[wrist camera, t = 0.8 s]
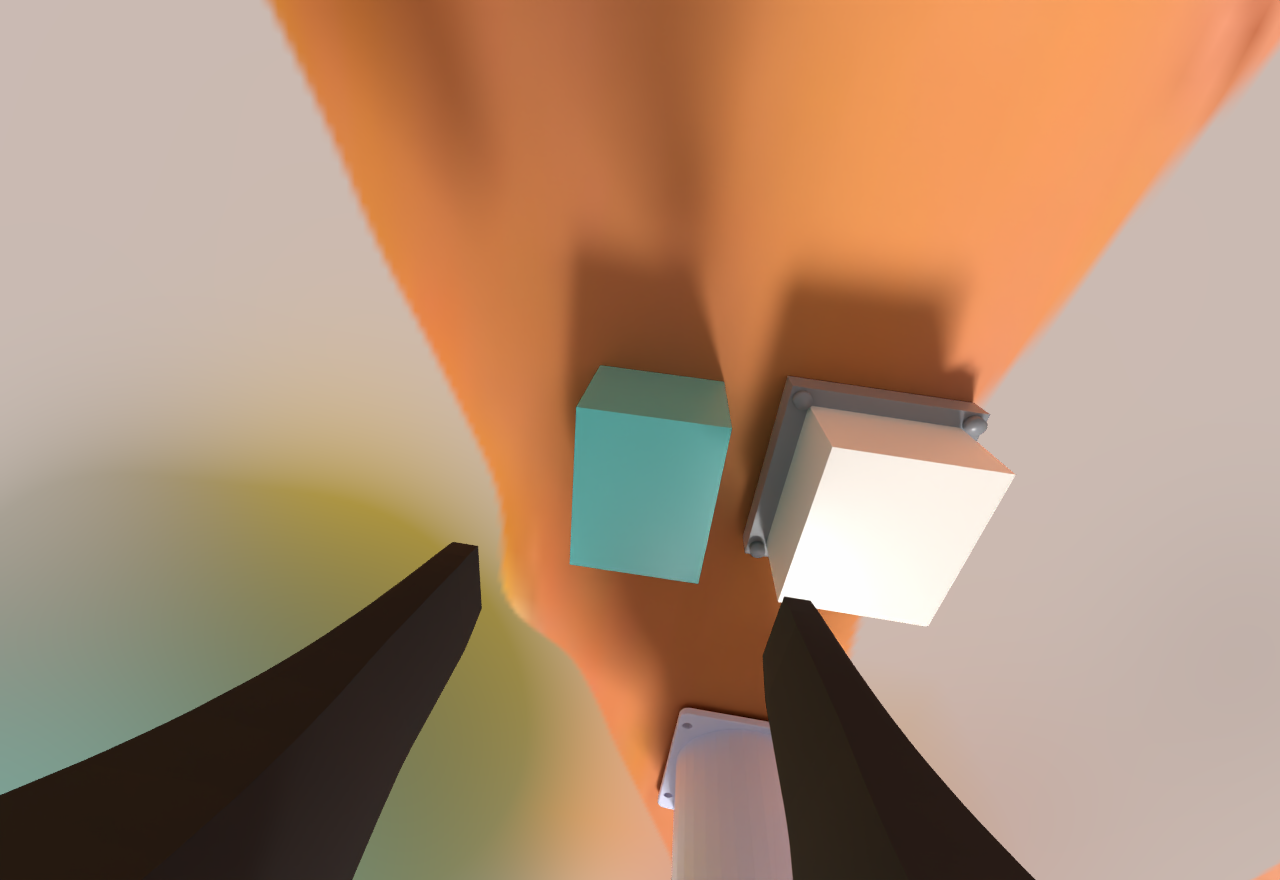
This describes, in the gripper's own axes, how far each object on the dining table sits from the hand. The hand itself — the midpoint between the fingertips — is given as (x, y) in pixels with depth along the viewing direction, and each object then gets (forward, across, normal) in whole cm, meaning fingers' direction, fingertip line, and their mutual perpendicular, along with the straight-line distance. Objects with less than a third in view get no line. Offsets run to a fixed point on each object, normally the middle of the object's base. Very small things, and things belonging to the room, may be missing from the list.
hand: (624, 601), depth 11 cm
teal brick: (+8, 0, 0) cm, 8 cm away
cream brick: (+8, -8, 0) cm, 11 cm away
